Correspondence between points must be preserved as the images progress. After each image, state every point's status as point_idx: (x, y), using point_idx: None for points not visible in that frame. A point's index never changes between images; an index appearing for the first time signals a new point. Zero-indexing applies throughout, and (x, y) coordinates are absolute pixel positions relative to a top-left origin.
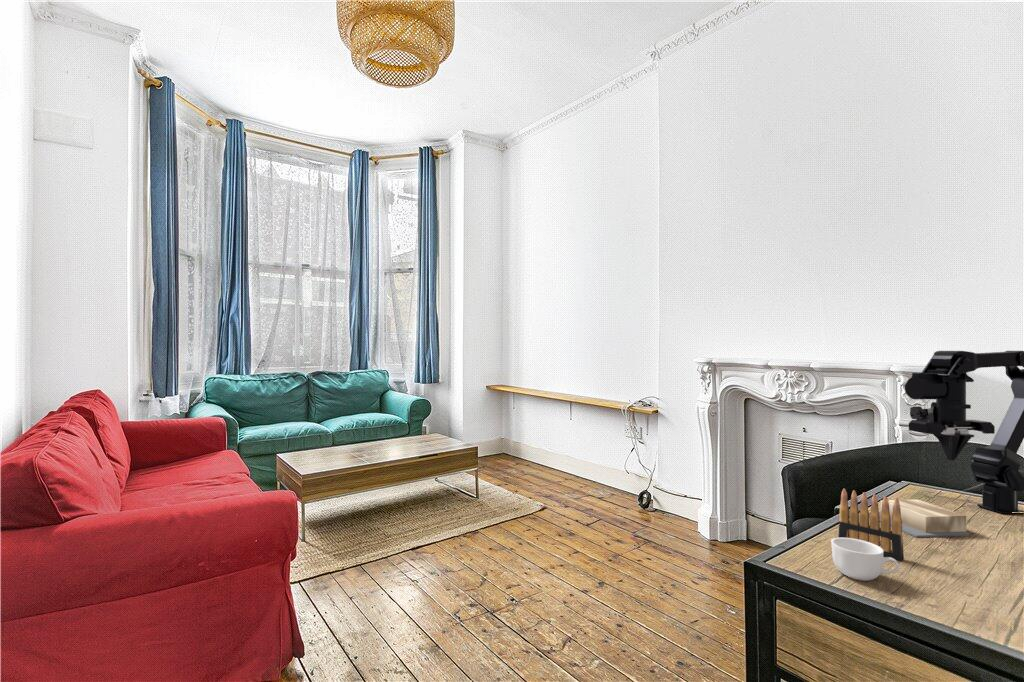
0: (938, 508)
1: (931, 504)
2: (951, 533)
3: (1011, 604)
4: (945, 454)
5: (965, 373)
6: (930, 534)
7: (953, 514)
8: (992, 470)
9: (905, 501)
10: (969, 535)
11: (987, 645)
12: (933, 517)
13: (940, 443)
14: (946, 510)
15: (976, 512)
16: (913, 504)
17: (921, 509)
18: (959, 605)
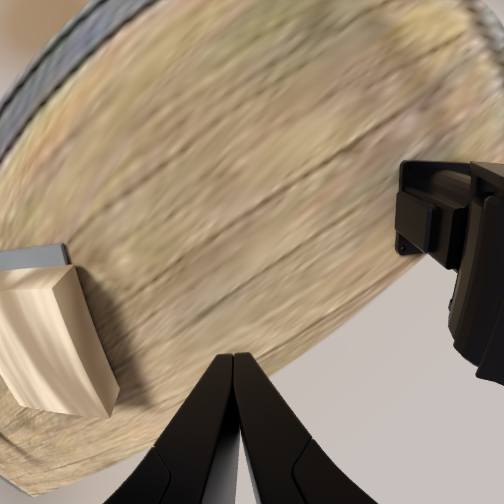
0: (70, 371)
1: (69, 340)
2: None
3: (55, 487)
4: (195, 386)
5: None
6: None
7: (83, 408)
8: (464, 333)
9: (10, 307)
10: (117, 397)
11: (21, 491)
12: (35, 407)
13: (125, 481)
14: (83, 386)
15: (328, 227)
16: (20, 336)
17: (25, 371)
18: (18, 475)
